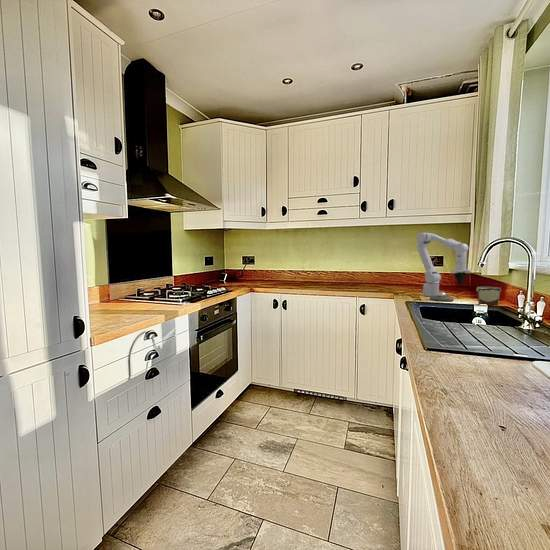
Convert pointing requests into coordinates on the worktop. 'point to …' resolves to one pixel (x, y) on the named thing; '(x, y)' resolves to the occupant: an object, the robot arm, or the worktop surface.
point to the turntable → (442, 298)
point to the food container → (488, 295)
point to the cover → (441, 294)
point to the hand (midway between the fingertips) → (460, 284)
